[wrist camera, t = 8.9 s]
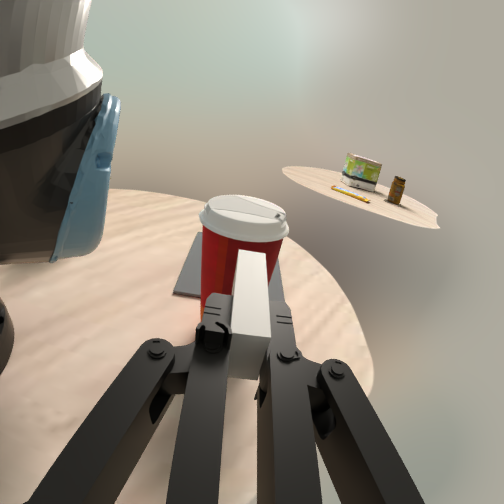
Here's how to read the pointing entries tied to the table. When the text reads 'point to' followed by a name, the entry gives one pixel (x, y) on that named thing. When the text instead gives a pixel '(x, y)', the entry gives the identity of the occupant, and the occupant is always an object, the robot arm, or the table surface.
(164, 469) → the table surface
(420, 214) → the table surface
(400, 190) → the condiment
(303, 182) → the table surface
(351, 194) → the candy bar
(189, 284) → the mat
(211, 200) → the paper cup
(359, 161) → the tea box
